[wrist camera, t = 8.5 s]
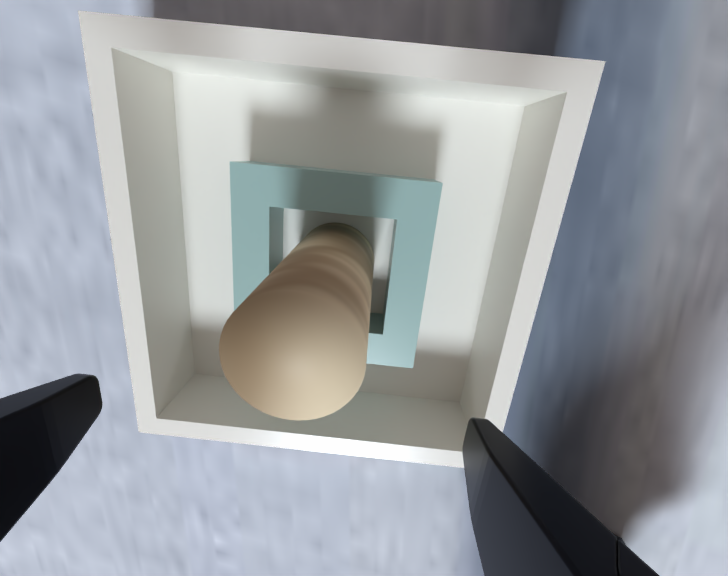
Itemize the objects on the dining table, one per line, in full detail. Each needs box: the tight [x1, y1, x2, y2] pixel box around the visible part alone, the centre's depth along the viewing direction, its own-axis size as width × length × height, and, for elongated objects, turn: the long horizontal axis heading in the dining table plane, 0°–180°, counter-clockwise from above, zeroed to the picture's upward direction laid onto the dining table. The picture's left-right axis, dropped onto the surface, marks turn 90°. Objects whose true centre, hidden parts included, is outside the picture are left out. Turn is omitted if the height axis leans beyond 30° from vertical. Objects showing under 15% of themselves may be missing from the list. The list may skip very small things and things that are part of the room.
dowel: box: [219, 222, 374, 421], centre depth 15 cm, size 4×4×10 cm
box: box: [78, 11, 605, 468], centre depth 18 cm, size 18×18×4 cm
